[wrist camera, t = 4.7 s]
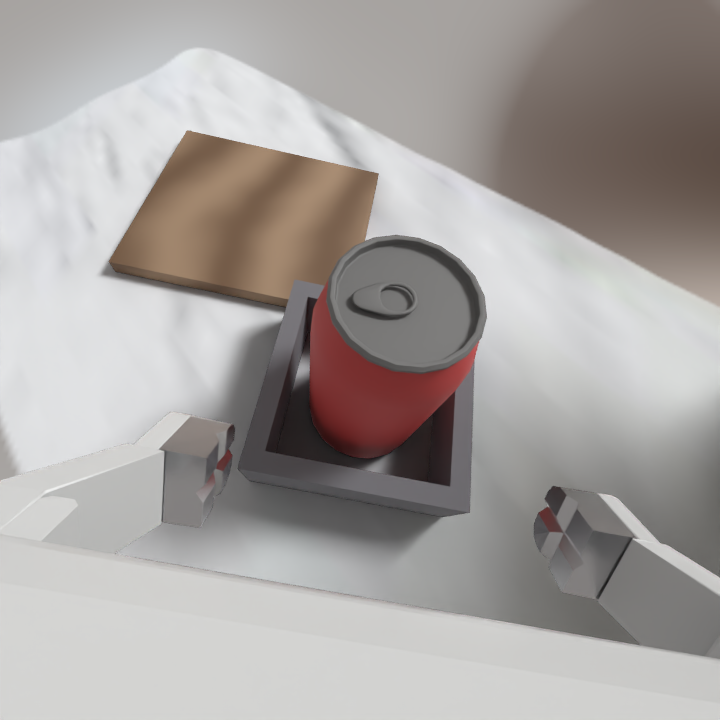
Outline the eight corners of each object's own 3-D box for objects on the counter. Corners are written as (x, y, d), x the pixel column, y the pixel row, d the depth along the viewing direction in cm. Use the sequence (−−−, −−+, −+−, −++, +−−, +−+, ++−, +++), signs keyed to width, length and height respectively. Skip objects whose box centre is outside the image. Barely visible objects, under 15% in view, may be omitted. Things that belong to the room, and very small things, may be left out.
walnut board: (376, 183, 32) (378, 173, 31) (348, 320, 26) (349, 312, 25) (190, 142, 32) (187, 130, 31) (115, 271, 25) (108, 261, 24)
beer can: (306, 361, 24) (305, 221, 14) (405, 357, 25) (477, 223, 15) (312, 465, 22) (316, 392, 11) (422, 455, 23) (526, 380, 12)
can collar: (452, 348, 26) (475, 317, 22) (442, 516, 21) (469, 512, 18) (296, 315, 26) (294, 279, 22) (249, 480, 21) (237, 468, 17)
